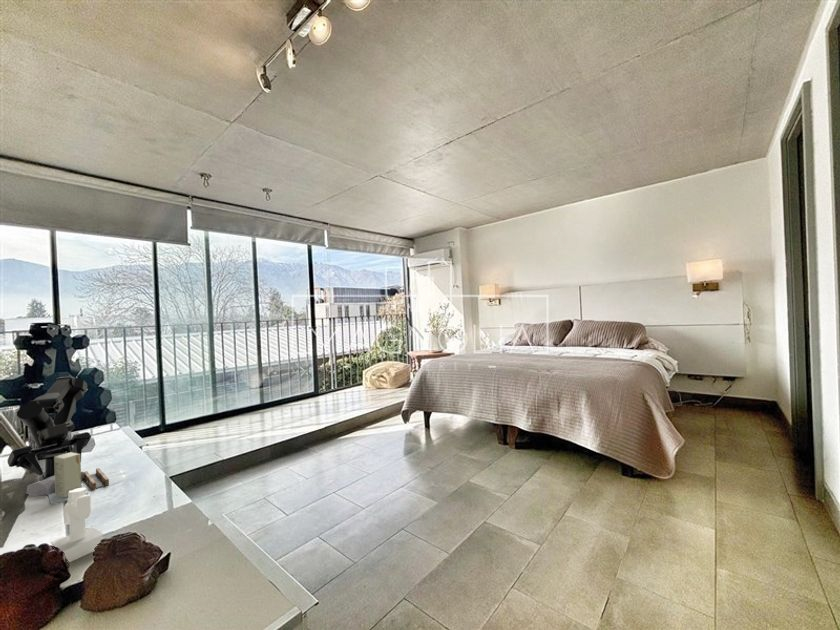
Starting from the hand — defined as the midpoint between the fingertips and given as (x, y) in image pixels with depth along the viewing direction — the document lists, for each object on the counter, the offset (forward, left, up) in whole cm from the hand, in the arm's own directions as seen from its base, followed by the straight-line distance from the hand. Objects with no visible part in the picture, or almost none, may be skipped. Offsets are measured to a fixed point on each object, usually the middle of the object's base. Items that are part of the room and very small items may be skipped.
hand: (61, 468), depth 114 cm
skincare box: (+4, +1, -7) cm, 9 cm away
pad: (+4, +1, -8) cm, 9 cm away
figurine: (+48, -2, -8) cm, 49 cm away
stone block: (-8, -1, -8) cm, 12 cm away
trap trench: (-2, +9, -8) cm, 12 cm away
